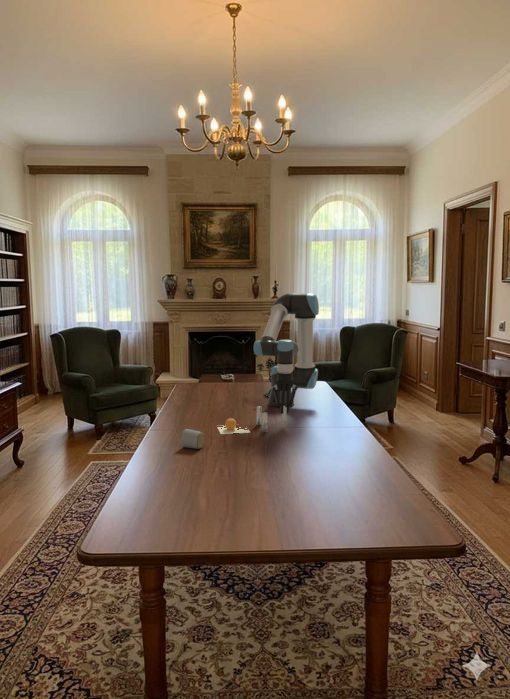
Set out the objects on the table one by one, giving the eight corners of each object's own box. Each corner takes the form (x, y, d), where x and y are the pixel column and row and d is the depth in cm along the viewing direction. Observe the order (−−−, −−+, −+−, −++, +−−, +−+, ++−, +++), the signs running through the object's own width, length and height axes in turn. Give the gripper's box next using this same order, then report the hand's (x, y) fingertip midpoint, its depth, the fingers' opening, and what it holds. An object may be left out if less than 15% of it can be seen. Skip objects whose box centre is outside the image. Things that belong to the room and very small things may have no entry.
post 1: (260, 423, 250) (261, 406, 249) (262, 425, 247) (262, 407, 246) (256, 424, 249) (256, 406, 248) (257, 425, 247) (257, 407, 246)
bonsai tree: (252, 391, 330) (253, 343, 326) (289, 391, 330) (290, 343, 326) (252, 403, 295) (253, 349, 291) (293, 403, 295) (295, 350, 292)
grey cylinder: (198, 451, 207) (198, 433, 206) (180, 449, 209) (180, 431, 208) (208, 444, 217) (209, 427, 216) (191, 442, 219) (191, 425, 218)
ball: (223, 427, 240) (234, 429, 241) (224, 430, 235) (236, 432, 236) (225, 416, 240) (236, 418, 241) (227, 418, 235) (238, 420, 236)
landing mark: (244, 424, 247) (244, 424, 247) (250, 432, 234) (250, 432, 234) (216, 426, 245) (216, 425, 245) (220, 434, 231) (220, 433, 231)
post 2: (266, 430, 238) (267, 412, 236) (267, 432, 235) (268, 413, 234) (261, 431, 237) (261, 412, 236) (262, 432, 235) (263, 413, 233)
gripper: (295, 370, 246) (294, 417, 249) (269, 371, 243) (269, 418, 247) (300, 373, 239) (299, 421, 242) (273, 373, 236) (273, 422, 239)
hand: (284, 419), depth 244 cm, fingers closed
